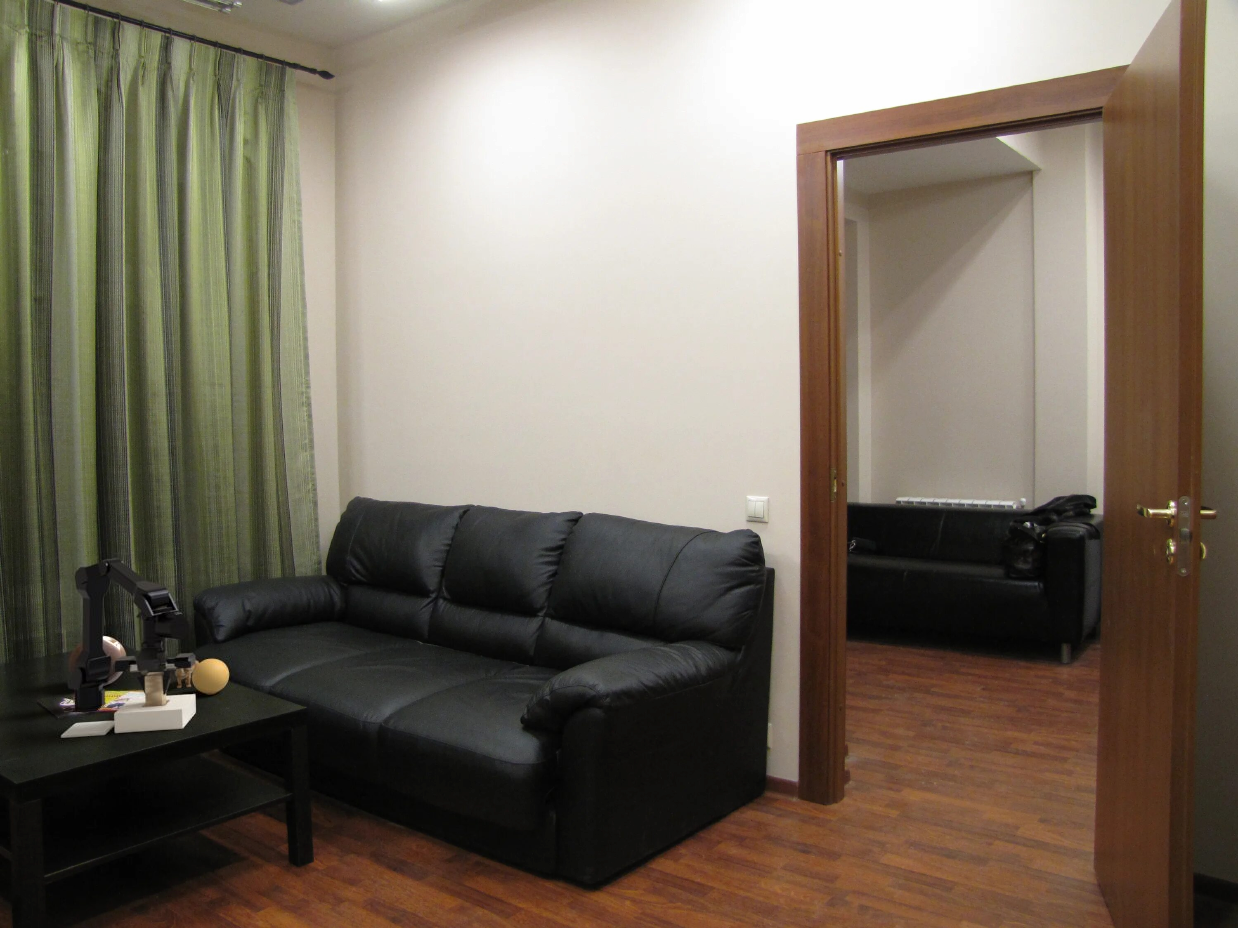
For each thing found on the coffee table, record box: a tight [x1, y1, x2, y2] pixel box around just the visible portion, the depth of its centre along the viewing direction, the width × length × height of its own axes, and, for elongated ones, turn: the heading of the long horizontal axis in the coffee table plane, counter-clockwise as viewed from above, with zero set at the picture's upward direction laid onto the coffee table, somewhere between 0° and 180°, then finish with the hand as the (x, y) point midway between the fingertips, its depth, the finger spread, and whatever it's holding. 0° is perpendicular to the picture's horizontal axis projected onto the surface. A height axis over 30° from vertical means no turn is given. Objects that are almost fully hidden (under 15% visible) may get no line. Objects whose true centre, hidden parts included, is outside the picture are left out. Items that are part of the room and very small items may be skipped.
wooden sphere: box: [68, 635, 127, 687], centre depth 283 cm, size 15×15×15 cm
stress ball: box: [191, 658, 230, 696], centre depth 274 cm, size 10×10×10 cm
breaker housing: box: [113, 693, 197, 734], centre depth 247 cm, size 16×14×5 cm
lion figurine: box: [174, 659, 200, 689], centre depth 284 cm, size 15×5×9 cm, turn 9°
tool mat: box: [60, 720, 115, 739], centre depth 241 cm, size 10×10×1 cm
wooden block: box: [144, 671, 167, 707], centre depth 247 cm, size 4×4×9 cm
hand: (155, 694), depth 247 cm, fingers closed on wooden block, 4 cm apart
